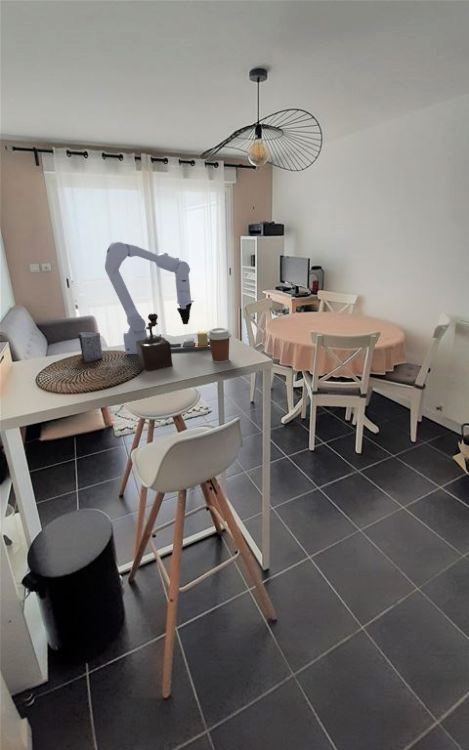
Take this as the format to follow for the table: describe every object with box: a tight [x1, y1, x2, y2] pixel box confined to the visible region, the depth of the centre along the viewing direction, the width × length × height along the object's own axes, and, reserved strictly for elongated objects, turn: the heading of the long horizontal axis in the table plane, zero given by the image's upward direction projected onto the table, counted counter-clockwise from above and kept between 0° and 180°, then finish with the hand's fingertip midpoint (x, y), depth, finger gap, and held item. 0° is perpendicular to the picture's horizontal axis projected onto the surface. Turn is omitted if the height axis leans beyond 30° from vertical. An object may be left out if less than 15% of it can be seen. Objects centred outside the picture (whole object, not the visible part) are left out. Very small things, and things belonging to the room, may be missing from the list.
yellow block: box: [196, 330, 209, 346], centre depth 152 cm, size 4×4×7 cm
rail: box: [170, 340, 211, 353], centre depth 153 cm, size 20×7×2 cm, turn 93°
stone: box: [77, 331, 105, 363], centre depth 145 cm, size 12×10×10 cm
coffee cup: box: [207, 327, 232, 364], centre depth 136 cm, size 9×9×12 cm
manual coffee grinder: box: [136, 312, 174, 372], centre depth 136 cm, size 16×11×18 cm
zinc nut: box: [183, 338, 195, 347], centre depth 153 cm, size 4×4×4 cm
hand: (186, 321), depth 157 cm, fingers open, 7 cm apart
